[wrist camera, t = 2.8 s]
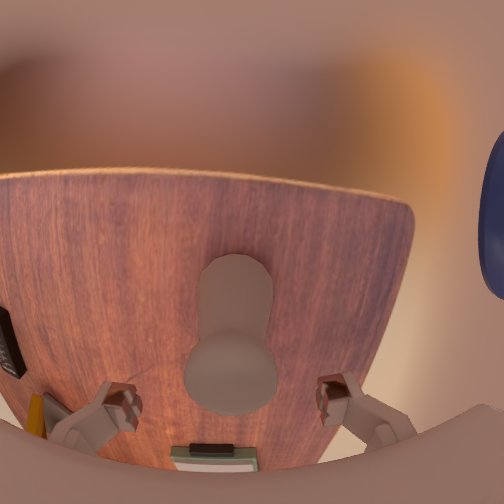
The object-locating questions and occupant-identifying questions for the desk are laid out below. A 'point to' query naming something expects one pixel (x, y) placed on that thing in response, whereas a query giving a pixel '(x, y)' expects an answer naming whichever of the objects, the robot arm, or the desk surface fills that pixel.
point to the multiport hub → (10, 348)
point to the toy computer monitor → (52, 415)
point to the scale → (214, 458)
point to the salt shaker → (232, 338)
